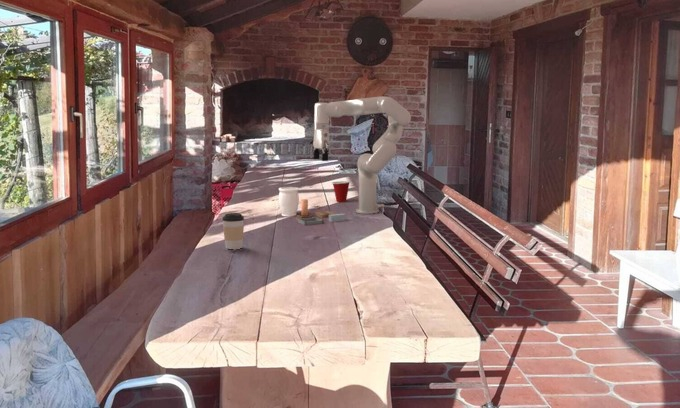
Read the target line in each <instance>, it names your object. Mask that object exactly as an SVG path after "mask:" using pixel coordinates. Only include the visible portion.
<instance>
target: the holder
mask: <svg viewBox="0 0 680 408" xmlns="http://www.w3.org/2000/svg"><path fill="white" fill-rule="evenodd" d="M303 218H313V215H312V214H309V213H308V216H303V217H302V214H297V215H296V218H295V220H296V221H297V219H303Z"/></svg>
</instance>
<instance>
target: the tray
mask: <svg viewBox="0 0 680 408" xmlns="http://www.w3.org/2000/svg"><path fill="white" fill-rule="evenodd" d="M296 221H297V223H299V224H301V225H303V226H310V225H321V224H324V223H325V222H324V220H323V219H322V218H320V217H317V216H314V217H313V218H303V219H297V220H296Z"/></svg>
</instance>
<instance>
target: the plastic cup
mask: <svg viewBox="0 0 680 408" xmlns="http://www.w3.org/2000/svg"><path fill="white" fill-rule="evenodd" d="M350 183H351V181H349V180H337V181H332V182H331V185H332V186H333V190H334V194H335V195H334V196H335V201H336V203H346V202H347V200H348V199H347V198H348V194H349V187H350Z"/></svg>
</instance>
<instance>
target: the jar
mask: <svg viewBox="0 0 680 408" xmlns="http://www.w3.org/2000/svg"><path fill="white" fill-rule="evenodd" d="M278 191H279V193H278V205H279V209H280V212H281V216H283V217H294V216H297V215H298V214H297V212H298V209H299V202H300V197H299V192H298V191H299V187H295V186H283V187H282V186H281V187H279V188H278Z"/></svg>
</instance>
